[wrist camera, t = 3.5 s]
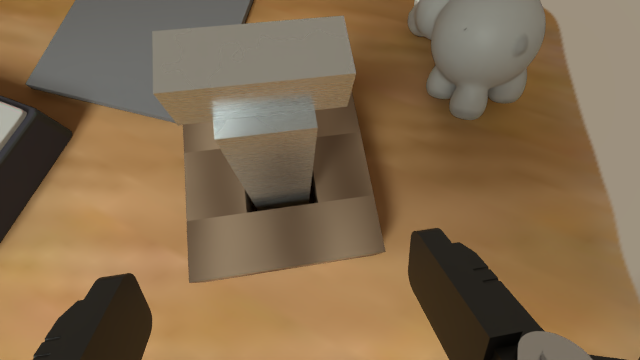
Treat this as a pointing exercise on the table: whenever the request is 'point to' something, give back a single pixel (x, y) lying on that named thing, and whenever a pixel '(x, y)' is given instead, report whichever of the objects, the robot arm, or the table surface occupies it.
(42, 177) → the calculator
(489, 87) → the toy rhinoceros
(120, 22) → the mat
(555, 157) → the table surface
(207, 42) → the t key
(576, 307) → the table surface
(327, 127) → the block
